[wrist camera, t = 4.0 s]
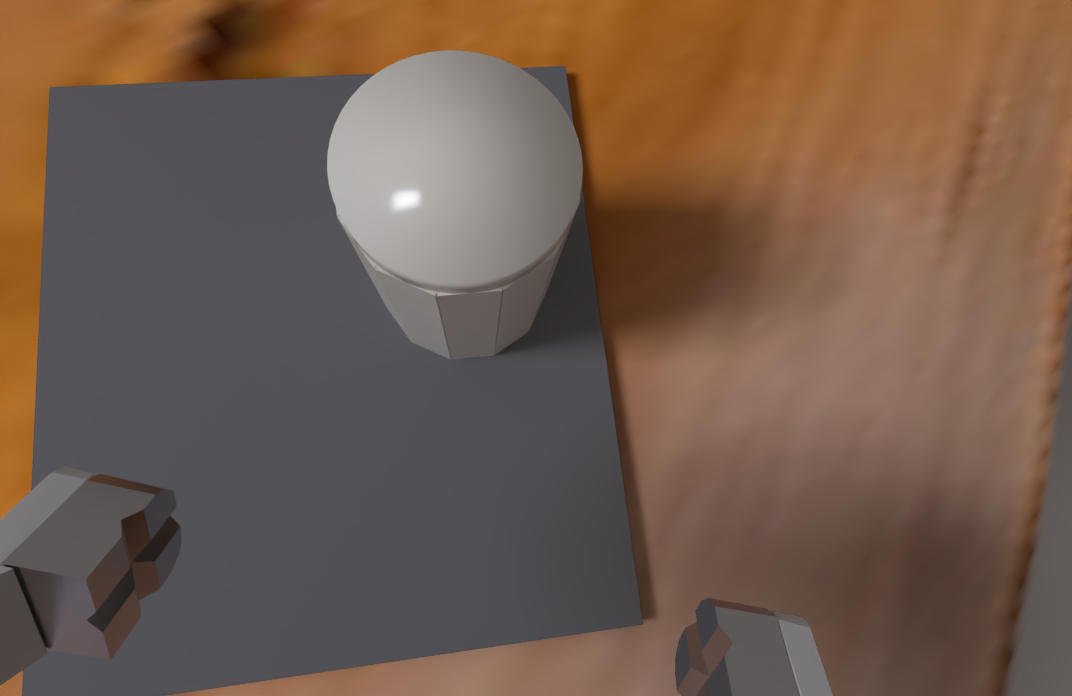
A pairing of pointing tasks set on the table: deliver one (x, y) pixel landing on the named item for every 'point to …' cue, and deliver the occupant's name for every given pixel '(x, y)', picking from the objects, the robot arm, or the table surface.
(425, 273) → the cream tumbler
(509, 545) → the charcoal mat
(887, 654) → the table surface
